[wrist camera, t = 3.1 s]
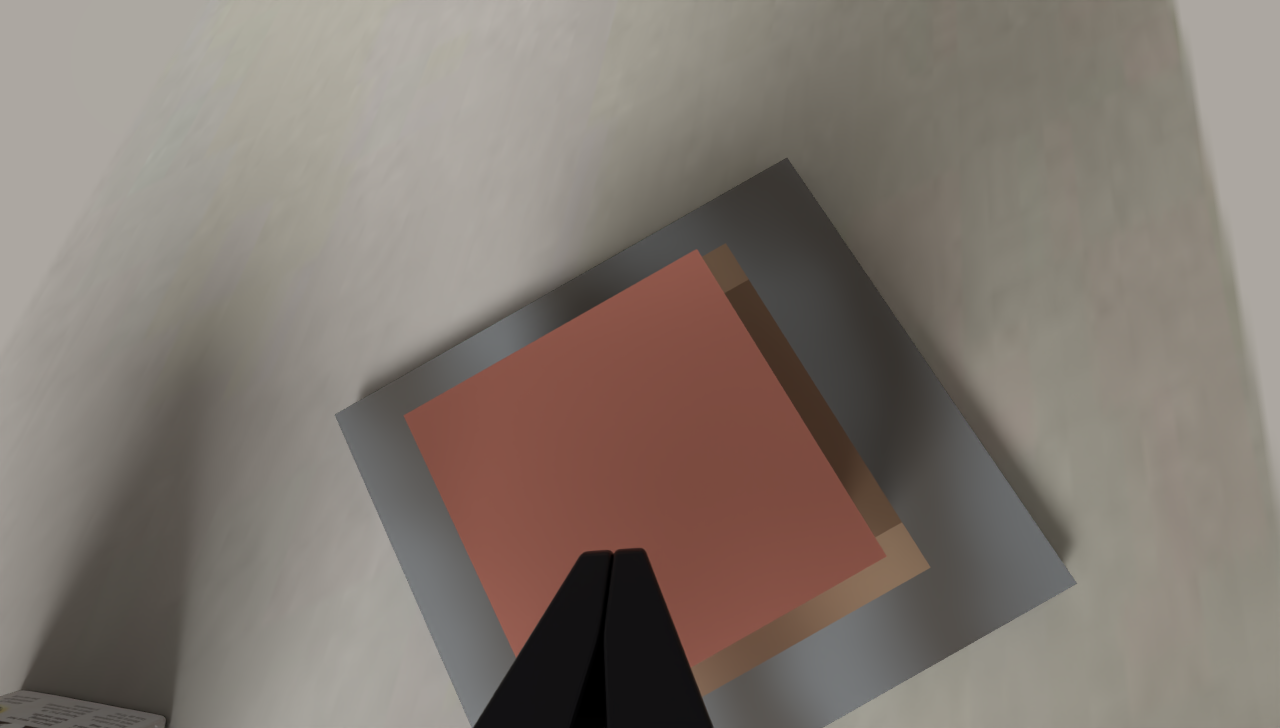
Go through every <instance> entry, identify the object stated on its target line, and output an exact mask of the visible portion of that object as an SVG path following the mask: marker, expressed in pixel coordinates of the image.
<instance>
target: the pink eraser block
mask: <svg viewBox="0 0 1280 728" xmlns="http://www.w3.org/2000/svg"><path fill="white" fill-rule="evenodd" d="M403 416H404V418H405V420H406V422H407V424H408V426H409V428H410V431H411V433H412V435H413V437H414V439H415V441H416V443H417V446H418V448H419V450H420V452H421V454H422V456H423V459H424V461H425V463H426V465H427V467H428V469H429V471H430V474H431V476H432V478H433V480H434V482H435V484H436V487H437V489H438V491H439V493H440V495H441V497H442V499H443V502H444V504H445V506H446V508H447V510H448V512H449V515H450V517H451V519H452V521H453V523H454V525H455V527H456V530H457V532H458V534H459V536H460V538H461V540H462V543H463V545H464V547H465V549H466V551H467V553H468V555H469V558H470V560H471V562H472V564H473V566H474V568H475V571H476V573H477V575H478V577H479V579H480V581H481V583H482V586H483V588H484V590H485V592H486V594H487V596H488V599H489V601H490V603H491V605H492V607H493V609H494V611H495V614H496V616H497V618H498V620H499V622H500V624H501V627H502V629H503V631H504V633H505V635H506V637H507V639H508V642H509V644H510V646H511V648H512V650H513V652H514V654H515V657H517V656H518V654H519V653H520V651H521V649H522V648H523V646H524V644H525V643H526V641H527V640H528V638H529V636H530V635H531V633H532V632H533V630H534V628H535V627H536V625H537V624H538V622H539V620H540V619H541V617H542V615H543V614H544V612H545V611H546V609H547V607H548V606H549V604H550V603H551V601H552V599H553V598H554V596H555V595H556V593H557V591H558V590H559V588H560V586H561V585H562V583H563V582H564V580H565V578H566V577H567V575H568V574H569V572H570V570H571V569H572V567H573V566H574V564H575V562H576V561H577V559H578V558H579V556H580V555H581V554H582V553H583V552H586V551H595V550H611V551H612V552H613V553H614V552H615V551H616V550H618V549H626V548H643V549H644V550H645V551H646V553H647V555H648V558H649V560H650V563H651V565H652V568H653V571H654V573H655V576H656V578H657V581H658V584H659V586H660V589H661V591H662V594H663V597H664V599H665V602H666V604H667V607H668V610H669V612H670V615H671V617H672V620H673V623H674V625H675V628H676V630H677V633H678V636H679V638H680V641H681V643H682V646H683V649H684V651H685V654H686V656H687V659H688V662H689V664H690V667H693V666H695V665H696V664H698V663H700V662H702V661H703V660H705V659H707V658H709V657H710V656H712V655H714V654H716V653H718V652H719V651H721V650H723V649H725V648H726V647H728V646H730V645H732V644H733V643H735V642H737V641H739V640H740V639H742V638H744V637H746V636H747V635H749V634H751V633H753V632H755V631H756V630H758V629H760V628H762V627H763V626H765V625H767V624H769V623H770V622H772V621H774V620H776V619H777V618H779V617H781V616H783V615H785V614H786V613H788V612H790V611H792V610H793V609H795V608H797V607H799V606H800V605H802V604H804V603H806V602H807V601H809V600H811V599H813V598H815V597H816V596H818V595H820V594H822V593H823V592H825V591H827V590H829V589H830V588H832V587H834V586H836V585H837V584H839V583H841V582H843V581H844V580H846V579H848V578H850V577H852V576H853V575H855V574H857V573H859V572H860V571H862V570H864V569H866V568H867V567H869V566H871V565H873V564H874V563H876V562H878V561H880V560H882V559H883V558H885V557H887V556H886V554H885V553H884V551H883V549H882V548H881V546H880V544H879V543H878V541H877V540H876V538H875V536H874V535H873V533H872V531H871V530H870V528H869V527H868V525H867V523H866V522H865V520H864V519H863V517H862V515H861V514H860V512H859V510H858V509H857V507H856V506H855V504H854V502H853V501H852V499H851V497H850V496H849V494H848V493H847V491H846V489H845V488H844V486H843V485H842V483H841V481H840V480H839V478H838V476H837V475H836V473H835V472H834V470H833V468H832V467H831V465H830V463H829V462H828V460H827V459H826V457H825V455H824V454H823V452H822V451H821V449H820V447H819V446H818V444H817V442H816V441H815V439H814V438H813V436H812V434H811V433H810V431H809V430H808V428H807V426H806V425H805V423H804V421H803V420H802V418H801V417H800V415H799V413H798V412H797V410H796V408H795V407H794V405H793V404H792V402H791V400H790V399H789V397H788V396H787V394H786V392H785V391H784V389H783V387H782V386H781V384H780V383H779V381H778V379H777V378H776V376H775V374H774V373H773V371H772V370H771V368H770V366H769V365H768V363H767V362H766V360H765V358H764V357H763V355H762V353H761V352H760V350H759V349H758V347H757V345H756V344H755V342H754V341H753V339H752V337H751V336H750V334H749V332H748V331H747V329H746V328H745V326H744V324H743V323H742V321H741V319H740V318H739V316H738V315H737V313H736V311H735V310H734V308H733V307H732V305H731V303H730V302H729V300H728V298H727V297H726V295H725V294H724V292H723V290H722V289H721V287H720V285H719V284H718V282H717V281H716V279H715V277H714V276H713V274H712V273H711V271H710V269H709V268H708V266H707V264H706V263H705V261H704V260H703V258H702V256H701V255H700V253H699V251H698V250H697V249H696V250H694V251H692V252H690V253H689V254H687V255H685V256H683V257H682V258H680V259H678V260H676V261H675V262H673V263H671V264H669V265H668V266H666V267H664V268H662V269H661V270H659V271H657V272H655V273H653V274H652V275H650V276H648V277H646V278H645V279H643V280H641V281H639V282H638V283H636V284H634V285H632V286H631V287H629V288H627V289H625V290H624V291H622V292H620V293H618V294H617V295H615V296H613V297H611V298H609V299H608V300H606V301H604V302H602V303H601V304H599V305H597V306H595V307H594V308H592V309H590V310H588V311H587V312H585V313H583V314H581V315H580V316H578V317H576V318H574V319H572V320H571V321H569V322H567V323H565V324H564V325H562V326H560V327H558V328H557V329H555V330H553V331H551V332H550V333H548V334H546V335H544V336H543V337H541V338H539V339H537V340H536V341H534V342H532V343H530V344H528V345H527V346H525V347H523V348H521V349H520V350H518V351H516V352H514V353H513V354H511V355H509V356H507V357H506V358H504V359H502V360H500V361H499V362H497V363H495V364H493V365H491V366H490V367H488V368H486V369H484V370H483V371H481V372H479V373H477V374H476V375H474V376H472V377H470V378H469V379H467V380H465V381H463V382H462V383H460V384H458V385H456V386H455V387H453V388H451V389H449V390H447V391H446V392H444V393H442V394H440V395H439V396H437V397H435V398H433V399H432V400H430V401H428V402H426V403H425V404H423V405H421V406H419V407H418V408H416V409H414V410H412V411H411V412H409V413H407V414H405V415H403Z"/></svg>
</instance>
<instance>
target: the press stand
mask: <svg viewBox="0 0 1280 728" xmlns="http://www.w3.org/2000/svg"><path fill="white" fill-rule="evenodd" d="M696 249H697V250H698V251H699V253H700V255H701V256H702V258H703V260H704V261H705V263H706V264H707V266H708V268H709V269H710V271H711V273H712V274H713V276H714V277H715V279H716V281H717V282H718V284H719V285H720V287H721V289H722V290H723V292H724V294H725V295H726V297H727V298H728V300H729V302H730V303H731V305H732V307H733V308H734V310H735V311H736V313H737V315H738V316H739V318H740V319H741V321H742V323H743V324H744V326H745V328H746V329H747V331H748V332H749V334H750V336H751V337H752V339H753V341H754V342H755V344H756V345H757V347H758V349H759V350H760V352H761V353H762V355H763V357H764V358H765V360H766V362H767V363H768V365H769V366H770V368H771V370H772V371H773V373H774V374H775V376H776V378H777V379H778V381H779V383H780V384H781V386H782V387H783V389H784V391H785V392H786V394H787V396H788V397H789V399H790V400H791V402H792V404H793V405H794V407H795V408H796V410H797V412H798V413H799V415H800V417H801V418H802V420H803V421H804V423H805V425H806V426H807V428H808V430H809V431H810V433H811V434H812V436H813V438H814V439H815V441H816V442H817V444H818V446H819V447H820V449H821V451H822V452H823V454H824V455H825V457H826V459H827V460H828V462H829V463H830V465H831V467H832V468H833V470H834V472H835V473H836V475H837V476H838V478H839V480H840V481H841V483H842V485H843V486H844V488H845V489H846V491H847V493H848V494H849V496H850V497H851V499H852V501H853V502H854V504H855V506H856V507H857V509H858V510H859V512H860V514H861V515H862V517H863V519H864V520H865V522H866V523H867V525H868V527H869V528H870V530H871V531H872V533H873V535H874V536H875V538H876V540H877V541H878V543H879V544H880V546H881V548H882V549H883V551H884V553H885V554H886V556H887V557H885V558H883V559H882V560H880V561H878V562H876V563H874V564H873V565H871V566H869V567H867V568H866V569H864V570H862V571H860V572H859V573H857V574H855V575H853V576H852V577H850V578H848V579H846V580H844V581H843V582H841V583H839V584H837V585H836V586H834V587H832V588H830V589H829V590H827V591H825V592H823V593H822V594H820V595H818V596H816V597H815V598H813V599H811V600H809V601H807V602H806V603H804V604H802V605H800V606H799V607H797V608H795V609H793V610H792V611H790V612H788V613H786V614H785V615H783V616H781V617H779V618H777V619H776V620H774V621H772V622H770V623H769V624H767V625H765V626H763V627H762V628H760V629H758V630H756V631H755V632H753V633H751V634H749V635H747V636H746V637H744V638H742V639H740V640H739V641H737V642H735V643H733V644H732V645H730V646H728V647H726V648H725V649H723V650H721V651H719V652H718V653H716V654H714V655H712V656H710V657H709V658H707V659H705V660H703V661H702V662H700V663H698V664H696V665H695V666H693V667H691V670H692V672H693V675H694V677H695V680H696V683H697V685H698V688H699V690H700V693H701V696H702V698H703V701H704V703H705V706H706V709H707V711H708V714H709V716H710V719H711V722H712V724H713V727H714V728H823V727H825V726H826V725H828V724H830V723H832V722H833V721H835V720H837V719H839V718H841V717H842V716H844V715H846V714H848V713H849V712H851V711H853V710H855V709H856V708H858V707H860V706H862V705H863V704H865V703H867V702H869V701H871V700H872V699H874V698H876V697H878V696H879V695H881V694H883V693H885V692H886V691H888V690H890V689H892V688H893V687H895V686H897V685H899V684H901V683H902V682H904V681H906V680H908V679H909V678H911V677H913V676H915V675H916V674H918V673H920V672H922V671H923V670H925V669H927V668H929V667H931V666H932V665H934V664H936V663H938V662H939V661H941V660H943V659H945V658H946V657H948V656H950V655H952V654H953V653H955V652H957V651H959V650H961V649H962V648H964V647H966V646H968V645H969V644H971V643H973V642H975V641H976V640H978V639H980V638H982V637H983V636H985V635H987V634H989V633H991V632H992V631H994V630H996V629H998V628H999V627H1001V626H1003V625H1005V624H1006V623H1008V622H1010V621H1012V620H1013V619H1015V618H1017V617H1019V616H1021V615H1022V614H1024V613H1026V612H1028V611H1029V610H1031V609H1033V608H1035V607H1036V606H1038V605H1040V604H1042V603H1043V602H1045V601H1047V600H1049V599H1051V598H1052V597H1054V596H1056V595H1058V594H1059V593H1061V592H1063V591H1065V590H1066V589H1068V588H1070V587H1072V586H1073V585H1075V584H1077V583H1076V581H1075V580H1074V578H1073V577H1072V575H1071V574H1070V573H1069V571H1068V570H1067V568H1066V567H1065V565H1064V564H1063V562H1062V561H1061V559H1060V558H1059V556H1058V555H1057V553H1056V552H1055V551H1054V549H1053V548H1052V546H1051V545H1050V543H1049V542H1048V540H1047V539H1046V537H1045V536H1044V534H1043V533H1042V531H1041V530H1040V528H1039V527H1038V526H1037V524H1036V523H1035V521H1034V520H1033V518H1032V517H1031V515H1030V514H1029V512H1028V511H1027V509H1026V508H1025V506H1024V505H1023V504H1022V502H1021V501H1020V499H1019V498H1018V496H1017V495H1016V493H1015V492H1014V490H1013V489H1012V487H1011V486H1010V484H1009V483H1008V481H1007V480H1006V479H1005V477H1004V476H1003V474H1002V473H1001V471H1000V470H999V468H998V467H997V465H996V464H995V462H994V461H993V459H992V458H991V457H990V455H989V454H988V452H987V451H986V449H985V448H984V446H983V445H982V443H981V442H980V440H979V439H978V437H977V436H976V434H975V433H974V432H973V430H972V429H971V427H970V426H969V424H968V423H967V421H966V420H965V418H964V417H963V415H962V414H961V412H960V411H959V410H958V408H957V407H956V405H955V404H954V402H953V401H952V399H951V398H950V396H949V395H948V393H947V392H946V390H945V389H944V387H943V386H942V385H941V383H940V382H939V380H938V379H937V377H936V376H935V374H934V373H933V371H932V370H931V368H930V367H929V365H928V364H927V363H926V361H925V360H924V358H923V357H922V355H921V354H920V352H919V351H918V349H917V348H916V346H915V345H914V343H913V342H912V341H911V339H910V338H909V336H908V335H907V333H906V332H905V330H904V329H903V327H902V326H901V324H900V323H899V321H898V320H897V318H896V317H895V316H894V314H893V313H892V311H891V310H890V308H889V307H888V305H887V304H886V302H885V301H884V299H883V298H882V296H881V295H880V294H879V292H878V291H877V289H876V288H875V286H874V285H873V283H872V282H871V280H870V279H869V277H868V276H867V274H866V273H865V271H864V270H863V269H862V267H861V266H860V264H859V263H858V261H857V260H856V258H855V257H854V255H853V254H852V252H851V251H850V249H849V248H848V247H847V245H846V244H845V242H844V241H843V239H842V238H841V236H840V235H839V233H838V232H837V230H836V229H835V227H834V226H833V224H832V223H831V222H830V220H829V219H828V217H827V216H826V214H825V213H824V211H823V210H822V208H821V207H820V205H819V204H818V202H817V201H816V200H815V198H814V197H813V195H812V194H811V192H810V191H809V189H808V188H807V186H806V185H805V183H804V182H803V180H802V179H801V177H800V176H799V175H798V173H797V172H796V170H795V169H794V167H793V166H792V164H791V163H790V161H789V160H788V158H786V159H784V160H782V161H780V162H779V163H777V164H775V165H773V166H772V167H770V168H768V169H766V170H764V171H763V172H761V173H759V174H757V175H756V176H754V177H752V178H750V179H749V180H747V181H745V182H743V183H742V184H740V185H738V186H736V187H735V188H733V189H731V190H729V191H728V192H726V193H724V194H722V195H720V196H719V197H717V198H715V199H713V200H712V201H710V202H708V203H706V204H705V205H703V206H701V207H699V208H698V209H696V210H694V211H692V212H691V213H689V214H687V215H685V216H684V217H682V218H680V219H678V220H676V221H675V222H673V223H671V224H669V225H668V226H666V227H664V228H662V229H661V230H659V231H657V232H655V233H654V234H652V235H650V236H648V237H647V238H645V239H643V240H641V241H640V242H638V243H636V244H634V245H632V246H631V247H629V248H627V249H625V250H624V251H622V252H620V253H618V254H617V255H615V256H613V257H611V258H610V259H608V260H606V261H604V262H603V263H601V264H599V265H597V266H595V267H594V268H592V269H590V270H588V271H587V272H585V273H583V274H581V275H580V276H578V277H576V278H574V279H573V280H571V281H569V282H567V283H566V284H564V285H562V286H560V287H559V288H557V289H555V290H553V291H551V292H550V293H548V294H546V295H544V296H543V297H541V298H539V299H537V300H536V301H534V302H532V303H530V304H529V305H527V306H525V307H523V308H522V309H520V310H518V311H516V312H515V313H513V314H511V315H509V316H507V317H506V318H504V319H502V320H500V321H499V322H497V323H495V324H493V325H492V326H490V327H488V328H486V329H485V330H483V331H481V332H479V333H478V334H476V335H474V336H472V337H471V338H469V339H467V340H465V341H463V342H462V343H460V344H458V345H456V346H455V347H453V348H451V349H449V350H448V351H446V352H444V353H442V354H441V355H439V356H437V357H435V358H434V359H432V360H430V361H428V362H426V363H425V364H423V365H421V366H419V367H418V368H416V369H414V370H412V371H411V372H409V373H407V374H405V375H404V376H402V377H400V378H398V379H397V380H395V381H393V382H391V383H390V384H388V385H386V386H384V387H382V388H381V389H379V390H377V391H375V392H374V393H372V394H370V395H368V396H367V397H365V398H363V399H361V400H360V401H358V402H356V403H354V404H353V405H351V406H349V407H347V408H346V409H344V410H342V411H340V412H338V413H337V414H335V417H336V419H337V421H338V423H339V426H340V428H341V430H342V433H343V435H344V437H345V439H346V442H347V444H348V446H349V448H350V451H351V453H352V455H353V458H354V460H355V462H356V464H357V467H358V469H359V471H360V474H361V476H362V478H363V480H364V483H365V485H366V487H367V490H368V492H369V494H370V496H371V499H372V501H373V503H374V506H375V508H376V510H377V512H378V515H379V517H380V519H381V522H382V524H383V526H384V528H385V531H386V533H387V535H388V538H389V540H390V542H391V544H392V547H393V549H394V551H395V554H396V556H397V558H398V560H399V563H400V565H401V567H402V570H403V572H404V574H405V576H406V579H407V581H408V583H409V585H410V588H411V590H412V592H413V595H414V597H415V599H416V601H417V604H418V606H419V608H420V611H421V613H422V615H423V617H424V620H425V622H426V624H427V627H428V629H429V631H430V633H431V636H432V638H433V640H434V643H435V645H436V647H437V649H438V652H439V654H440V656H441V659H442V661H443V663H444V665H445V668H446V670H447V672H448V675H449V677H450V679H451V681H452V684H453V686H454V688H455V691H456V693H457V695H458V697H459V700H460V702H461V704H462V707H463V709H464V711H465V713H466V716H467V718H468V720H469V722H470V725H471V727H472V728H473V727H474V725H475V723H476V722H477V720H478V719H479V717H480V715H481V714H482V712H483V710H484V709H485V707H486V706H487V704H488V702H489V701H490V699H491V698H492V696H493V694H494V693H495V691H496V690H497V688H498V686H499V685H500V683H501V682H502V680H503V678H504V677H505V675H506V673H507V672H508V670H509V669H510V667H511V665H512V664H513V662H514V661H515V659H516V657H515V654H514V652H513V650H512V648H511V646H510V644H509V642H508V639H507V637H506V635H505V633H504V631H503V629H502V627H501V624H500V622H499V620H498V618H497V616H496V614H495V611H494V609H493V607H492V605H491V603H490V601H489V599H488V596H487V594H486V592H485V590H484V588H483V586H482V583H481V581H480V579H479V577H478V575H477V573H476V571H475V568H474V566H473V564H472V562H471V560H470V558H469V555H468V553H467V551H466V549H465V547H464V545H463V543H462V540H461V538H460V536H459V534H458V532H457V530H456V527H455V525H454V523H453V521H452V519H451V517H450V515H449V512H448V510H447V508H446V506H445V504H444V502H443V499H442V497H441V495H440V493H439V491H438V489H437V487H436V484H435V482H434V480H433V478H432V476H431V474H430V471H429V469H428V467H427V465H426V463H425V461H424V459H423V456H422V454H421V452H420V450H419V448H418V446H417V443H416V441H415V439H414V437H413V435H412V433H411V431H410V428H409V426H408V424H407V422H406V420H405V418H404V416H403V415H405V414H407V413H409V412H411V411H412V410H414V409H416V408H418V407H419V406H421V405H423V404H425V403H426V402H428V401H430V400H432V399H433V398H435V397H437V396H439V395H440V394H442V393H444V392H446V391H447V390H449V389H451V388H453V387H455V386H456V385H458V384H460V383H462V382H463V381H465V380H467V379H469V378H470V377H472V376H474V375H476V374H477V373H479V372H481V371H483V370H484V369H486V368H488V367H490V366H491V365H493V364H495V363H497V362H499V361H500V360H502V359H504V358H506V357H507V356H509V355H511V354H513V353H514V352H516V351H518V350H520V349H521V348H523V347H525V346H527V345H528V344H530V343H532V342H534V341H536V340H537V339H539V338H541V337H543V336H544V335H546V334H548V333H550V332H551V331H553V330H555V329H557V328H558V327H560V326H562V325H564V324H565V323H567V322H569V321H571V320H572V319H574V318H576V317H578V316H580V315H581V314H583V313H585V312H587V311H588V310H590V309H592V308H594V307H595V306H597V305H599V304H601V303H602V302H604V301H606V300H608V299H609V298H611V297H613V296H615V295H617V294H618V293H620V292H622V291H624V290H625V289H627V288H629V287H631V286H632V285H634V284H636V283H638V282H639V281H641V280H643V279H645V278H646V277H648V276H650V275H652V274H653V273H655V272H657V271H659V270H661V269H662V268H664V267H666V266H668V265H669V264H671V263H673V262H675V261H676V260H678V259H680V258H682V257H683V256H685V255H687V254H689V253H690V252H692V251H694V250H696Z"/></svg>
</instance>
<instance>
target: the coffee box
mask: <svg viewBox="0 0 1280 728" xmlns="http://www.w3.org/2000/svg"><path fill="white" fill-rule="evenodd" d="M165 722H166V719H165V717H164V716H161V715H156V714H151V713H146V712H141V711H136V710H131V709H125V708H119V707H115V706H110V705H105V704H99V703H94V702H88V701H83V700H77V699H72V698H67V697H61V696H56V695H50V694H45V693H39V692H32V691H24V690H22V691H17V692H13V693H10V694H6V695H3V696H0V728H164V727H165Z"/></svg>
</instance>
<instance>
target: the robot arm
mask: <svg viewBox="0 0 1280 728" xmlns="http://www.w3.org/2000/svg"><path fill="white" fill-rule="evenodd" d="M473 728H714V727H713V724H712V722H711V719H710V716H709V714H708V711H707V709H706V706H705V703H704V701H703V698H702V696H701V693H700V690H699V688H698V685H697V683H696V680H695V677H694V675H693V672H692V670H691V667H690V664H689V662H688V659H687V656H686V654H685V651H684V649H683V646H682V643H681V641H680V638H679V636H678V633H677V630H676V628H675V625H674V623H673V620H672V617H671V615H670V612H669V610H668V607H667V604H666V602H665V599H664V597H663V594H662V591H661V589H660V586H659V584H658V581H657V578H656V576H655V573H654V571H653V568H652V565H651V563H650V560H649V558H648V555H647V553H646V551H645V550H644V549H643V548H626V549H618V550H616V551H615V552H614V553H613V552H612V551H611V550H595V551H586V552H583V553H582V554H581V555H580V556H579V558H578V559H577V561H576V562H575V564H574V566H573V567H572V569H571V570H570V572H569V574H568V575H567V577H566V578H565V580H564V582H563V583H562V585H561V586H560V588H559V590H558V591H557V593H556V595H555V596H554V598H553V599H552V601H551V603H550V604H549V606H548V607H547V609H546V611H545V612H544V614H543V615H542V617H541V619H540V620H539V622H538V624H537V625H536V627H535V628H534V630H533V632H532V633H531V635H530V636H529V638H528V640H527V641H526V643H525V644H524V646H523V648H522V649H521V651H520V653H519V654H518V656H517V657H516V659H515V661H514V662H513V664H512V665H511V667H510V669H509V670H508V672H507V673H506V675H505V677H504V678H503V680H502V682H501V683H500V685H499V686H498V688H497V690H496V691H495V693H494V694H493V696H492V698H491V699H490V701H489V702H488V704H487V706H486V707H485V709H484V710H483V712H482V714H481V715H480V717H479V719H478V720H477V722H476V723H475V725H474V727H473Z"/></svg>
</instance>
